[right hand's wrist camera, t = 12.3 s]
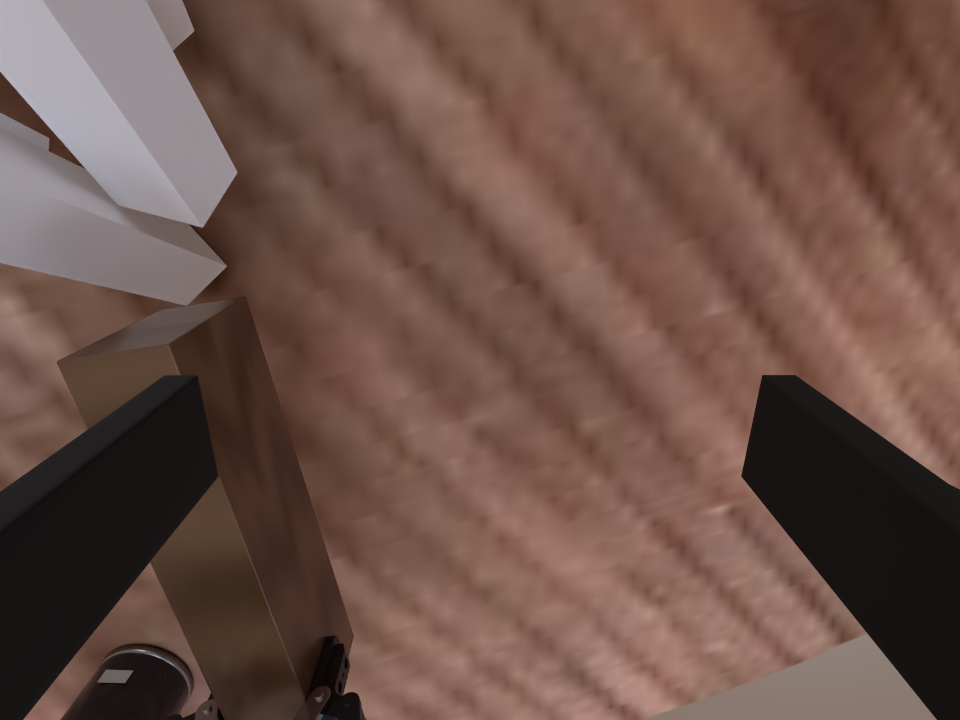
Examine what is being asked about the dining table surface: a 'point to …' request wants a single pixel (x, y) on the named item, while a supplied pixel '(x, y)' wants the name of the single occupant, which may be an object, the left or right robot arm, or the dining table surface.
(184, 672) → the left robot arm
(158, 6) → the pile of blocks
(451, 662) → the dining table surface
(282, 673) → the bar
